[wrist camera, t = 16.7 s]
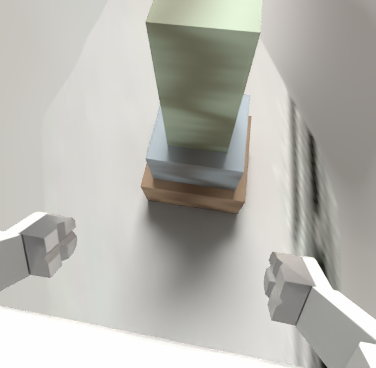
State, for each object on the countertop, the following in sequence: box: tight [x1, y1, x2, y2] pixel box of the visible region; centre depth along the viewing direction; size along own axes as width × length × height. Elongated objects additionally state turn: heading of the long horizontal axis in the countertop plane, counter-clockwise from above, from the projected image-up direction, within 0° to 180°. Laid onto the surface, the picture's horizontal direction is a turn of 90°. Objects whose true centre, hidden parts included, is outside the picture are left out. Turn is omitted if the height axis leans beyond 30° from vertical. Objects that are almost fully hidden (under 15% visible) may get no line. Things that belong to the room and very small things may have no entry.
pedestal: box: [141, 94, 251, 214], centre depth 24 cm, size 10×10×8 cm
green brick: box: [146, 0, 262, 153], centre depth 16 cm, size 5×5×10 cm
